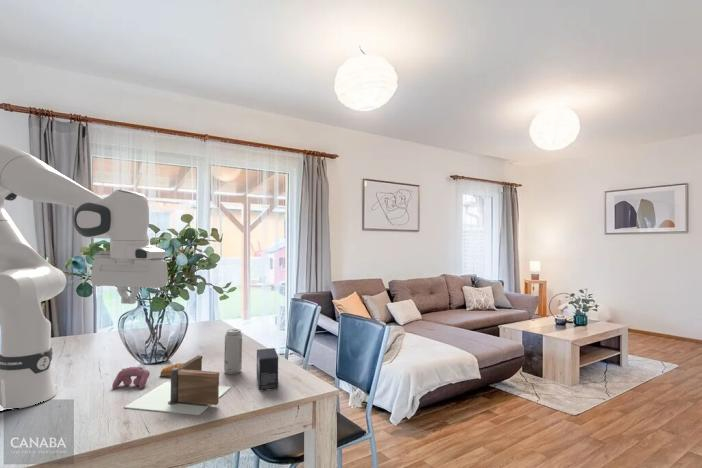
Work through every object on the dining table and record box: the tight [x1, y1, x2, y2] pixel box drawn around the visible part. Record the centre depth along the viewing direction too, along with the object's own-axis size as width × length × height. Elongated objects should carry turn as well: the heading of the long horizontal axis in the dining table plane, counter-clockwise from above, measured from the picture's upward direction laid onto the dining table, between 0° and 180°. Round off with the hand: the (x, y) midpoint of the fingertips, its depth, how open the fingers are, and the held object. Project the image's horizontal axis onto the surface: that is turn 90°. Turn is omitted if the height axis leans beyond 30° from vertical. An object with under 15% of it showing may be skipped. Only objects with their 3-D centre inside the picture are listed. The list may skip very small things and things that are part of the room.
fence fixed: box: [170, 355, 203, 403], centre depth 116 cm, size 2×14×10 cm, turn 171°
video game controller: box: [111, 366, 151, 390], centre depth 122 cm, size 10×5×7 cm, turn 93°
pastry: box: [160, 362, 185, 378], centre depth 133 cm, size 9×7×4 cm
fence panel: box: [178, 369, 220, 406], centre depth 109 cm, size 2×12×9 cm, turn 82°
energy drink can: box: [223, 328, 243, 375], centre depth 136 cm, size 6×6×15 cm
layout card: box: [123, 381, 232, 416], centre depth 114 cm, size 23×19×1 cm
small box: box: [256, 347, 279, 391], centre depth 126 cm, size 11×6×10 cm, turn 19°
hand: (128, 303), depth 99 cm, fingers closed
